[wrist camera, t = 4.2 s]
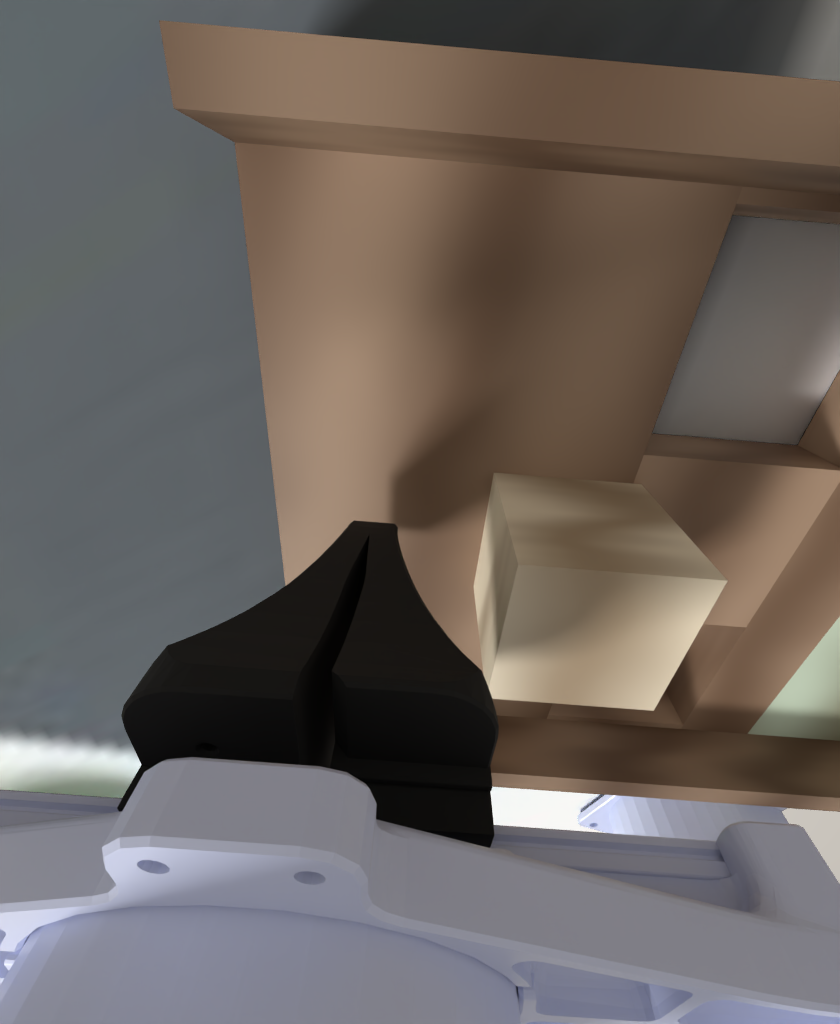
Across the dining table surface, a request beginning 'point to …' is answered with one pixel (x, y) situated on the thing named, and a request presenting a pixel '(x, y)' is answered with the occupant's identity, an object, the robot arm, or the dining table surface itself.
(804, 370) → the dining table surface
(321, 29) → the dining table surface
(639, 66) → the box
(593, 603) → the beech block
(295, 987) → the robot arm
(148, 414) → the dining table surface
